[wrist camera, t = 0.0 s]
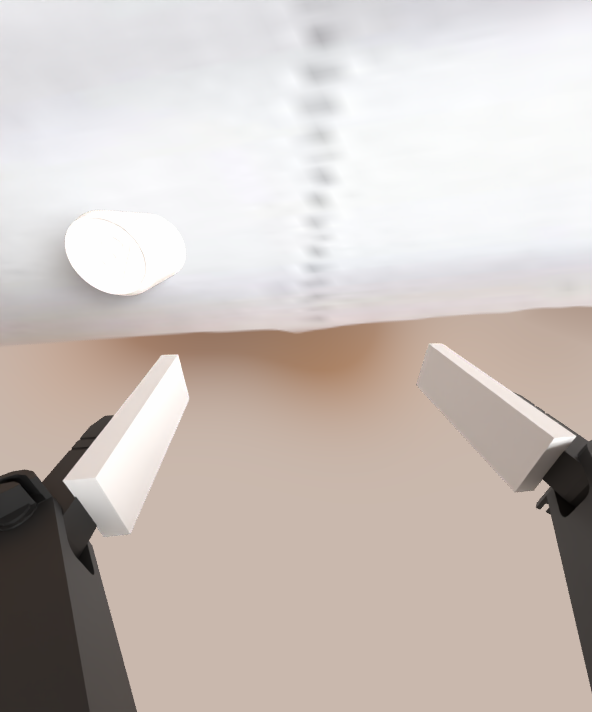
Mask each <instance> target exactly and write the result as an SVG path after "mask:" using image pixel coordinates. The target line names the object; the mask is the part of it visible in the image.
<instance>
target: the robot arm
mask: <svg viewBox="0 0 592 712" xmlns="http://www.w3.org/2000/svg"><path fill="white" fill-rule="evenodd" d="M416 385H417V386H418V388H420V390H421V391H422V392H423V393H424V394H425V395H426V396H427V397H428V398H429V400H430V401H431V402H432V403H433V404H434V405H435V406H436V407H437V408H438V409H439V410H440V412H441V413H442V414H443V415H444V416H445V417H446V418H447V419H448V420H449V421H450V422H451V423H452V424H453V426H454V427H455V428H456V429H457V430H458V431H459V432H460V433H461V434H462V435H463V436H464V438H465V439H466V440H467V441H468V442H469V443H470V444H471V445H472V446H473V447H474V449H475V450H476V451H477V452H478V453H479V454H480V455H481V456H482V457H483V458H484V459H485V461H486V462H487V463H488V464H489V465H490V466H491V467H492V468H493V469H494V470H495V471H496V472H497V473H498V475H499V476H500V477H501V478H502V479H503V480H504V481H505V482H506V483H507V485H508V486H509V487H510V488H511V489H512V490H513V491H514V492H523V491H532V490H534V489H535V488H536V487H537V485H538V484H539V483H540V482H541V481H542V479H543V480H544V481H545V482H546V483H547V484H549V486H551V487H550V488H549V489H548V490H547V491H546V493H545V494H544V495H543V496H542V497H541V499H540V500H539V501H538V502H537V505H536V508H538V509H541V508H542V507H543V506H544V504H549V508H548V510H547V511H546V512H547V513H549V514H551V517H552V521H553V525H554V530H555V534H556V539H557V543H558V547H559V552H560V556H561V560H562V564H563V569H564V573H565V577H566V582H567V586H568V591H569V595H570V599H571V604H572V608H573V612H574V617H575V621H576V626H577V630H578V634H579V639H580V643H581V647H582V652H583V656H584V660H585V664H586V669H587V673H588V677H589V682H590V686H591V691H592V440H591V441H587V440H585V439H584V438H583V437H581V436H580V435H578V434H577V433H575V432H574V431H572V430H571V429H569V428H568V427H566V426H565V425H564V424H562V423H561V422H559V421H558V420H556V419H555V418H553V417H552V416H550V415H549V414H545V412H544V411H543V410H542V409H540V408H539V407H537V406H534V404H532V403H531V402H530V401H528V400H527V399H525V398H524V397H522V396H521V395H518V394H516V393H514V392H512V391H510V390H509V389H507V388H506V387H504V386H503V385H502V384H500V383H499V382H497V381H496V380H494V379H493V378H491V377H490V376H489V375H487V374H486V373H484V372H483V371H481V370H480V369H479V368H477V367H476V366H474V365H473V364H471V363H470V362H468V361H467V360H465V359H464V358H463V357H461V356H460V355H458V354H457V353H455V352H454V351H452V350H451V349H450V348H448V347H447V346H445V345H444V344H442V343H433V344H428V348H427V351H426V355H425V358H424V361H423V364H422V368H421V371H420V374H419V378H418V381H417V384H416ZM188 401H189V395H188V391H187V387H186V383H185V379H184V376H183V372H182V368H181V364H180V360H179V357H178V354H176V355H161V357H160V358H159V359H158V360H157V362H156V363H155V364H154V366H153V367H152V368H151V369H150V371H149V372H148V373H147V375H146V376H145V377H144V378H143V380H142V381H141V382H140V383H139V385H138V386H137V387H136V389H135V390H134V391H133V392H132V393H131V395H130V396H129V397H128V399H127V400H126V401H125V403H124V404H123V405H122V406H121V407H120V409H119V410H118V411H117V413H116V414H115V415H112V416H104V417H103V418H101V419H100V420H99V421H97V422H96V423H94V424H93V425H91V426H90V428H89V429H88V430H87V431H86V432H85V433H84V434H83V435H82V437H81V438H80V440H79V441H77V442H76V444H75V445H74V446H73V447H72V450H71V451H69V452H68V453H67V454H66V455H65V456H64V458H63V459H62V460H61V461H60V462H59V463H58V464H57V466H56V467H55V468H54V469H53V470H52V471H51V473H50V474H49V475H48V476H47V477H46V478H45V480H44V481H43V482H41V481H40V479H39V478H38V477H37V476H36V474H35V473H34V472H33V471H29V470H19V471H13V472H10V473H7V474H5V475H2V476H0V712H137V710H136V706H135V703H134V699H133V695H132V692H131V688H130V684H129V680H128V677H127V673H126V669H125V666H124V662H123V658H122V654H121V651H120V647H119V643H118V640H117V636H116V632H115V628H114V625H113V621H112V617H111V614H110V610H109V606H108V602H107V599H106V595H105V591H104V587H103V584H102V580H101V577H100V573H99V569H98V565H97V561H96V558H95V554H94V550H93V547H92V545H91V543H90V542H89V539H90V538H91V536H92V534H93V532H94V530H95V529H96V527H97V528H98V530H99V531H100V532H101V534H102V535H103V537H109V536H118V535H127V534H130V533H131V531H132V529H133V527H134V524H135V522H136V520H137V518H138V515H139V513H140V511H141V508H142V506H143V504H144V502H145V499H146V497H147V495H148V492H149V490H150V488H151V486H152V483H153V481H154V479H155V476H156V474H157V472H158V469H159V467H160V465H161V463H162V460H163V458H164V456H165V453H166V451H167V449H168V447H169V444H170V442H171V440H172V437H173V435H174V433H175V431H176V428H177V426H178V424H179V421H180V419H181V417H182V415H183V412H184V410H185V408H186V405H187V403H188Z"/></svg>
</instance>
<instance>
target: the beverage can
mask: <svg viewBox="0 0 592 712" xmlns="http://www.w3.org/2000/svg"><path fill="white" fill-rule="evenodd" d="M65 250H66V254H67V257H68V259H69V261H70V263H71V265H72V267H73V268H74V270H75V271H76V272H77V273H78V275H79V276H80V277H81V278H82V279H83V280H85V281H86V282H87V283H88V284H90V285H91V286H93V287H95V288H96V289H98V290H101V291H103V292H106V293H110V294H116V295H122V296H132V295H137V294H141V293H143V292H145V291H147V290H148V289H150V288H152V287H154V286H155V285H157V284H159V283H161V282H162V281H164V280H166V279H168V278H169V277H171V276H173V275H175V274H176V273H177V272H179V271H180V269H181V268H182V266H183V265H184V262H185V257H186V250H185V245H184V242H183V239H182V237H181V235H180V234H179V232H178V231H177V229H176V228H175V227H174V226H173V225H172V224H171V223H170V222H168V221H167V220H165V219H164V218H162V217H160V216H157V215H154V214H149V213H136V212H122V211H109V210H94V211H90V212H87V213H84V214H83V215H81V216H80V217H78V218H77V219H76V220H75V221H74V222H73V223H72V224H71V225H70V227H69V228H68V230H67V232H66V236H65Z"/></svg>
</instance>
